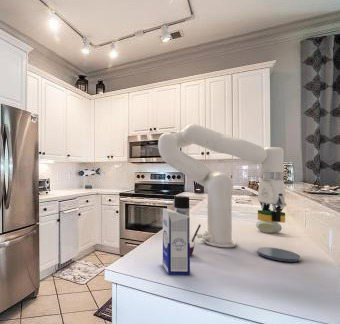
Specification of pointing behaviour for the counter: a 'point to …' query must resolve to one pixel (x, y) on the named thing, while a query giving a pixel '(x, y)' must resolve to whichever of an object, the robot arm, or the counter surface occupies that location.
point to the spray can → (182, 204)
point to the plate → (278, 254)
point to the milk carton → (176, 242)
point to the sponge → (269, 216)
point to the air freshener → (268, 227)
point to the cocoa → (193, 241)
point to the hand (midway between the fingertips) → (270, 219)
